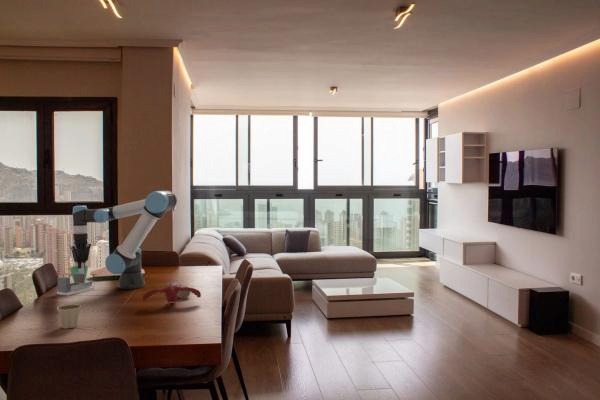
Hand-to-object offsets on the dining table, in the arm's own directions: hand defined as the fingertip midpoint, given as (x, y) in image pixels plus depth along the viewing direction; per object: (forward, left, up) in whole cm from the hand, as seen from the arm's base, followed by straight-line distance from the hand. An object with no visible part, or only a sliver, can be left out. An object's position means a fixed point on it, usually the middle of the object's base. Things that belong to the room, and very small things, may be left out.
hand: (81, 273), depth 289 cm
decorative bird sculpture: (-70, +4, -10) cm, 71 cm away
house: (+14, -39, -10) cm, 43 cm away
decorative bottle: (-56, -16, -10) cm, 60 cm away
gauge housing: (0, +4, -9) cm, 10 cm away
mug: (+18, -14, -10) cm, 25 cm away
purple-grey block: (0, +3, -8) cm, 9 cm away
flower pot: (-55, +52, -10) cm, 76 cm away
